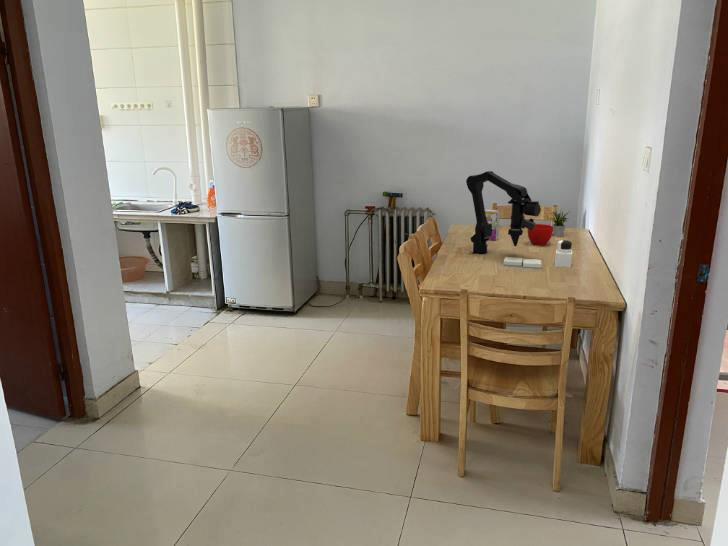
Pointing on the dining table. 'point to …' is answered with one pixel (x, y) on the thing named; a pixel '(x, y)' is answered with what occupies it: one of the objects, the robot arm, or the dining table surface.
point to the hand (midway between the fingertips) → (515, 246)
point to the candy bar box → (493, 222)
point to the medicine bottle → (563, 254)
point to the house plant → (558, 223)
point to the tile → (513, 261)
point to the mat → (519, 266)
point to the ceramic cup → (540, 234)
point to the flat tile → (532, 263)
